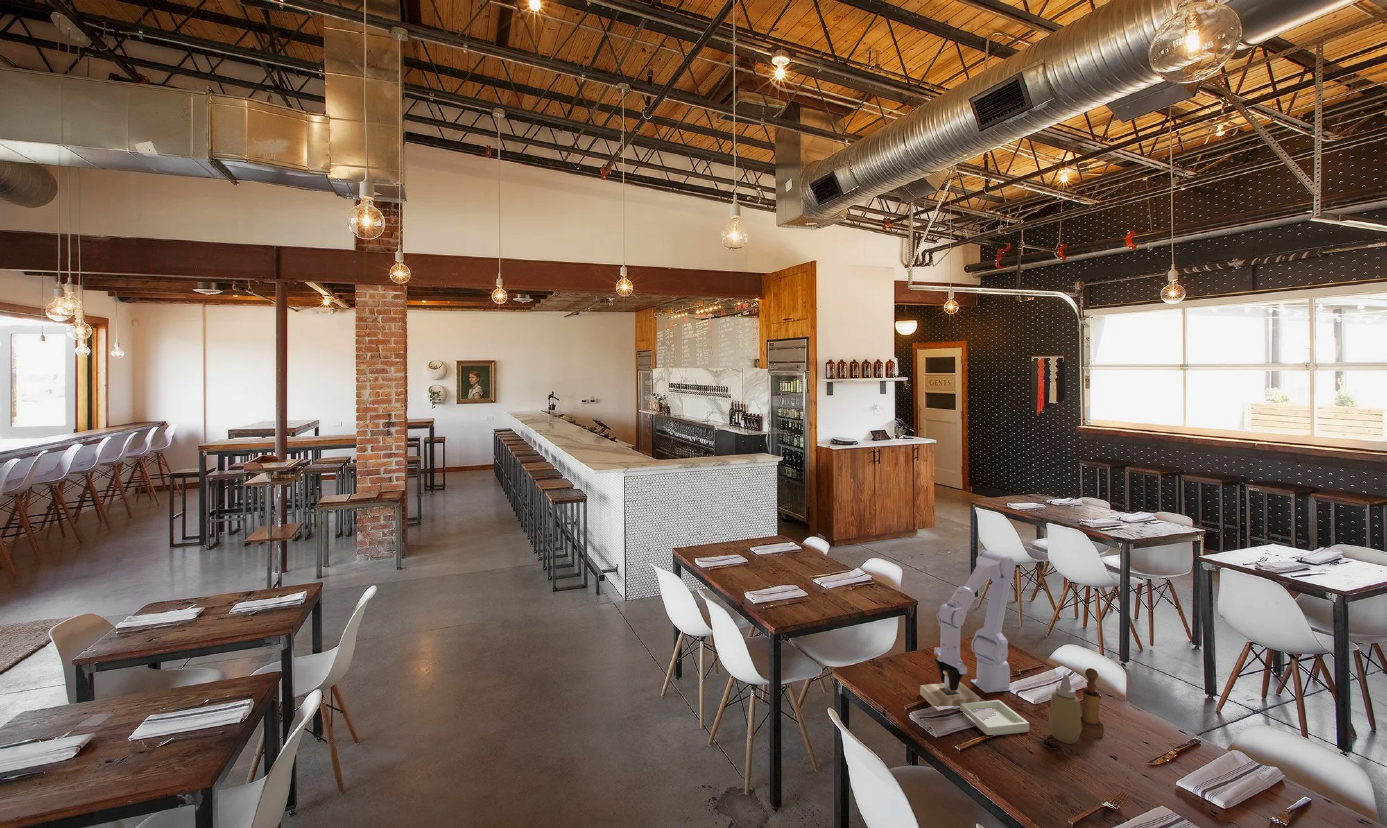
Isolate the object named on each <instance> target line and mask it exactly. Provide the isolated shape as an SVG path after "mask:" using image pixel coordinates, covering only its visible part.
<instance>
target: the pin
mask: <svg viewBox="0 0 1387 828" xmlns="http://www.w3.org/2000/svg"><path fill="white" fill-rule="evenodd" d="M943 674H945V680H944V693H945V694H946V695H955V690H950V687H949V677H948V673H947V671H946V668H944V669H943Z"/></svg>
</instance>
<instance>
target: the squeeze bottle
mask: <svg viewBox="0 0 1387 828" xmlns="http://www.w3.org/2000/svg"><path fill="white" fill-rule="evenodd" d="M1076 693H1077V692H1076V689H1075V688H1074V687H1073V686H1071V681H1070V676H1069V675H1068V674H1063V677H1062V680H1061V683H1059V684H1057V685H1055V691H1054V692H1052V694H1051V699H1050V700H1051V701H1050V705H1049V706H1050V707H1049V715H1048V720H1047V723H1048V725H1049V729H1050V732H1051V735H1052V737H1053V738H1054V739H1056V740H1057V741H1059V742H1061V743H1065V744H1070V745H1071V744H1075V743H1077V741H1078V740H1079V738H1080V735H1081V734H1082V732H1081V731H1082V725H1081V716H1082V713H1081V703H1080V702H1081V701H1080V699H1079V698H1078V697H1077V695H1076Z"/></svg>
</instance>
